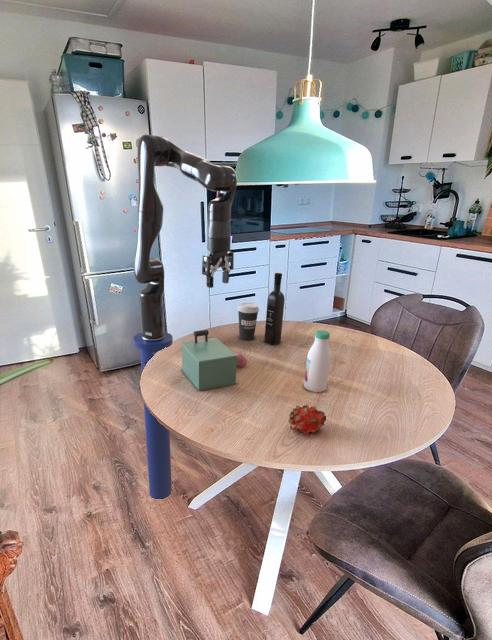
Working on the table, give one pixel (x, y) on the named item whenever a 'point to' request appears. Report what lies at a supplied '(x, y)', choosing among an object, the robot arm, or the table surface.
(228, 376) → the green rectangular box
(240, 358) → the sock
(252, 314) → the coffee cup
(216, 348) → the green box lid
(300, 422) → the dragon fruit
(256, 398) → the table surface
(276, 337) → the wine bottle
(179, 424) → the table surface
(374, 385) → the table surface
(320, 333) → the milk bottle
